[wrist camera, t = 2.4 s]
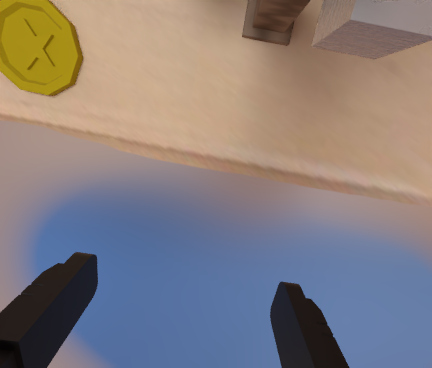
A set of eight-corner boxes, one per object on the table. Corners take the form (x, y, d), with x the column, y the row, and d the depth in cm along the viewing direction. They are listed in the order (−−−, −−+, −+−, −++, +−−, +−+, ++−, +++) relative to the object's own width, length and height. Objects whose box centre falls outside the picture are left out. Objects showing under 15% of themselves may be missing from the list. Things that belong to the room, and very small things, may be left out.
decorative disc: (-25, 25, 42) (-36, 21, 40) (48, -22, 40) (39, -29, 38) (32, 108, 47) (24, 108, 45) (100, 70, 44) (94, 68, 42)
